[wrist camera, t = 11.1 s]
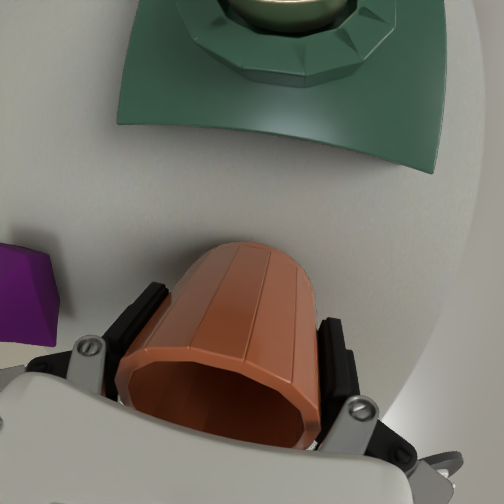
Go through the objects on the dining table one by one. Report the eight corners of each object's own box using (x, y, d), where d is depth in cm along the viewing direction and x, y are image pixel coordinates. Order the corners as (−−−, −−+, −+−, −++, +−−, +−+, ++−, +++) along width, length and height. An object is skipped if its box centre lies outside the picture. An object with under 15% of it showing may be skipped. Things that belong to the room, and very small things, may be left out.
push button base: (416, -6, 7) (455, -47, 2) (403, 165, 11) (458, 184, 6) (186, -35, 8) (146, -80, 3) (153, 125, 12) (86, 126, 7)
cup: (330, 256, 12) (355, 376, 6) (297, 360, 15) (290, 472, 8) (186, 229, 13) (95, 317, 6) (184, 337, 15) (134, 434, 9)
